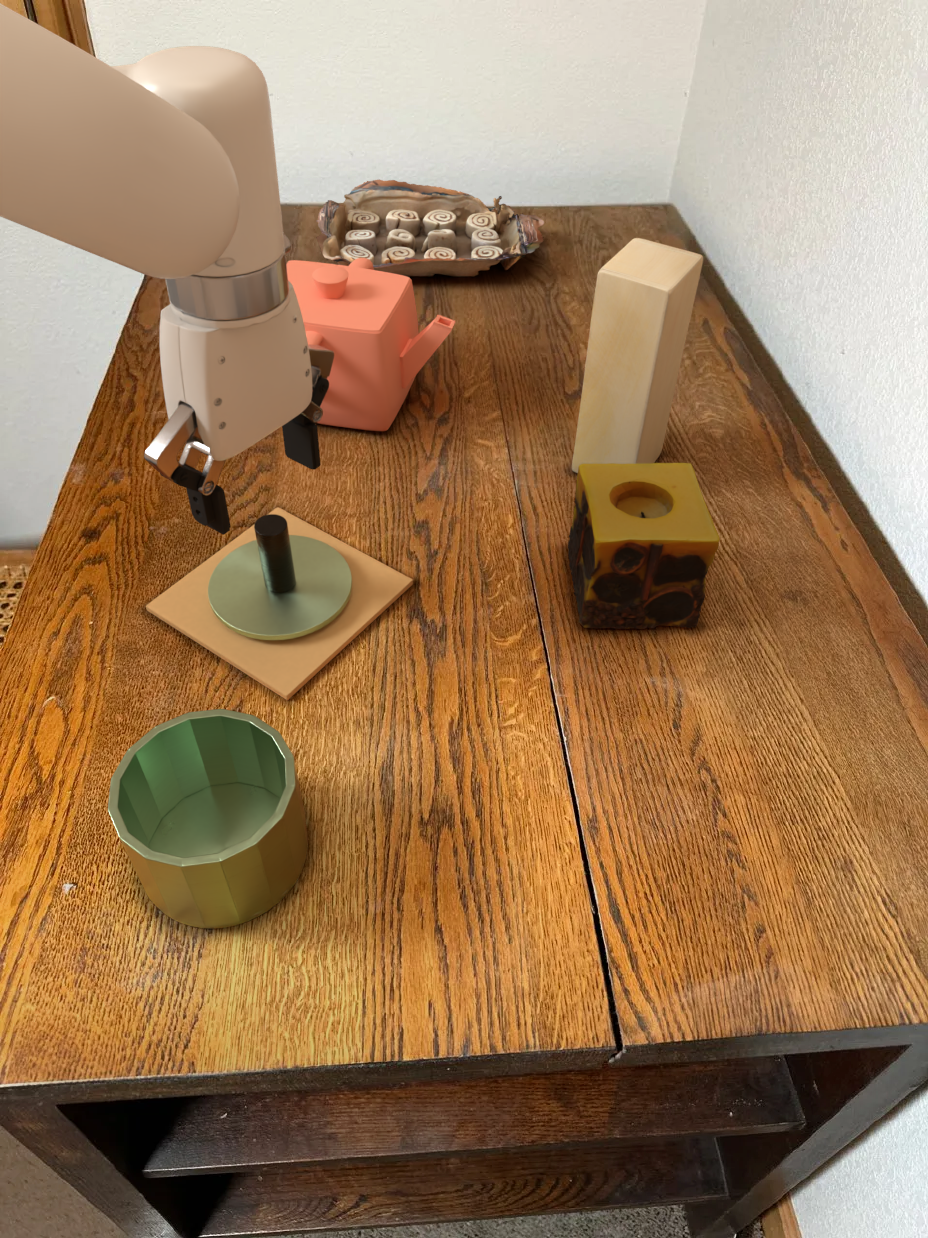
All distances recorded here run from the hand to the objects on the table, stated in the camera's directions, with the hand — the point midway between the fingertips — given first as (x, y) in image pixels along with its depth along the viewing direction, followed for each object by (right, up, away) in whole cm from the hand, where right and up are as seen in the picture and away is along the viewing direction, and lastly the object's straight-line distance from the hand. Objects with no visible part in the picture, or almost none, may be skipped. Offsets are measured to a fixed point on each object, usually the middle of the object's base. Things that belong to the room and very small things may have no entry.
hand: (259, 492), depth 71 cm
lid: (0, -7, +8) cm, 11 cm away
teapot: (+5, +14, +29) cm, 33 cm away
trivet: (0, -8, +9) cm, 12 cm away
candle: (+30, -7, +11) cm, 33 cm away
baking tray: (+11, +39, +53) cm, 67 cm away
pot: (-1, -25, -7) cm, 27 cm away
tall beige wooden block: (+31, +6, +23) cm, 39 cm away
